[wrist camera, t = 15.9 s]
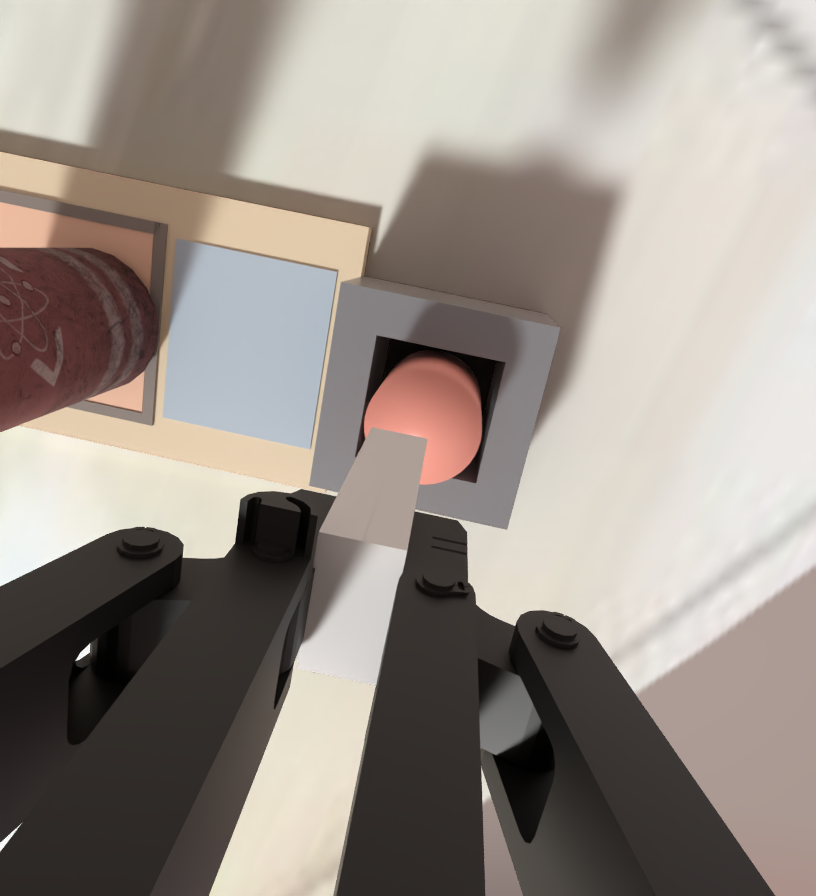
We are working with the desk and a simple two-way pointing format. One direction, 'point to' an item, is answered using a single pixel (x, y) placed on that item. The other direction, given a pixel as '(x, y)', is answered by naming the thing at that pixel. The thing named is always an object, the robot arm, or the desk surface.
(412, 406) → the button
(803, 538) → the desk surface
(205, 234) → the board
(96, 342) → the can
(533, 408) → the button housing
